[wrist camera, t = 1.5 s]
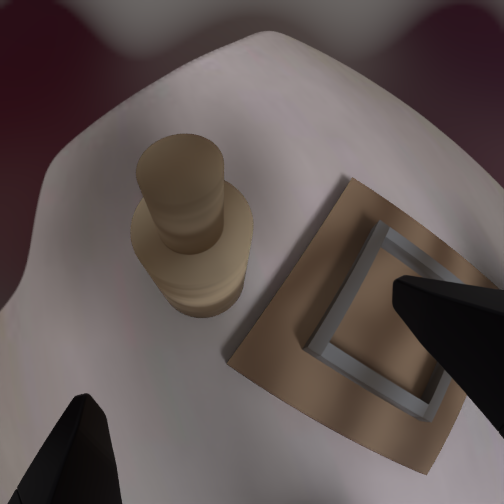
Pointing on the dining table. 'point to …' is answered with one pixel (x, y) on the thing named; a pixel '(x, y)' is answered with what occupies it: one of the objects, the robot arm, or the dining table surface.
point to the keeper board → (360, 333)
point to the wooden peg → (191, 225)
